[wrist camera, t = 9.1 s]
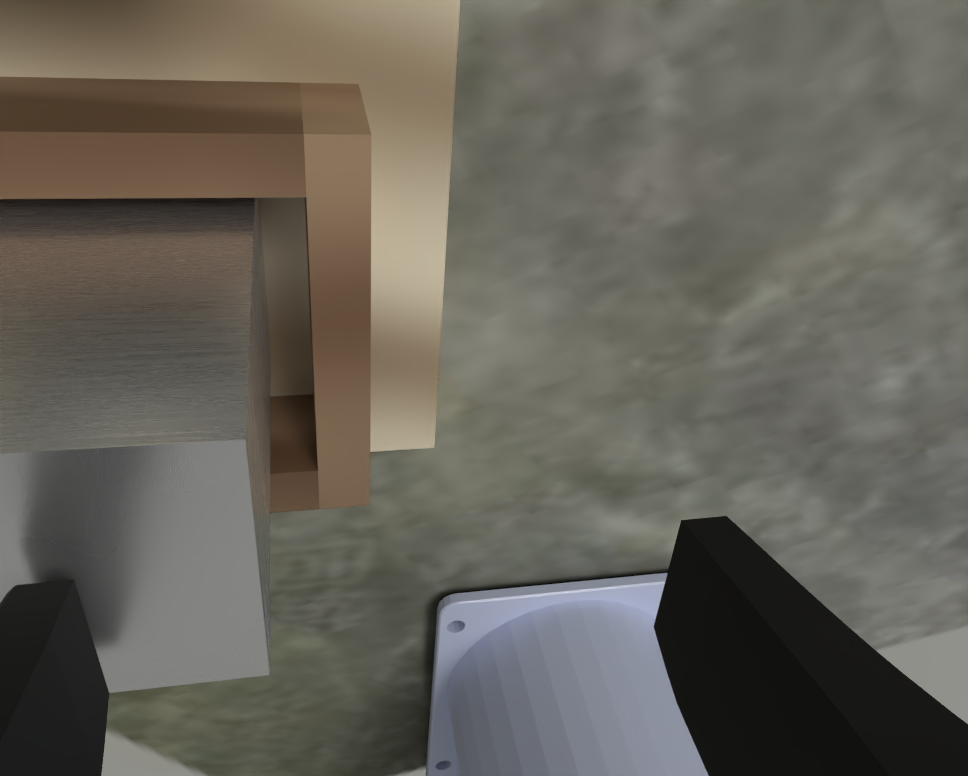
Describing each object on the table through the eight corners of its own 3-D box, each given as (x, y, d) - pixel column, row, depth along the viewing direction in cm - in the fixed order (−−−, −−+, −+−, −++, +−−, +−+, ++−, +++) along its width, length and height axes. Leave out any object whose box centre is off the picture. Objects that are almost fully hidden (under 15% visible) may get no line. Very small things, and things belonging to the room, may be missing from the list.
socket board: (428, 421, 21) (451, 523, 18) (-78, 450, 19) (-137, 571, 16) (488, -743, 11) (563, -916, 8) (-622, -982, 8) (-1054, -1332, 6)
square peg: (270, 345, 18) (269, 674, 12) (60, 353, 17) (-66, 712, 11) (256, 156, 16) (245, 439, 9) (11, 155, 15) (-184, 464, 8)
